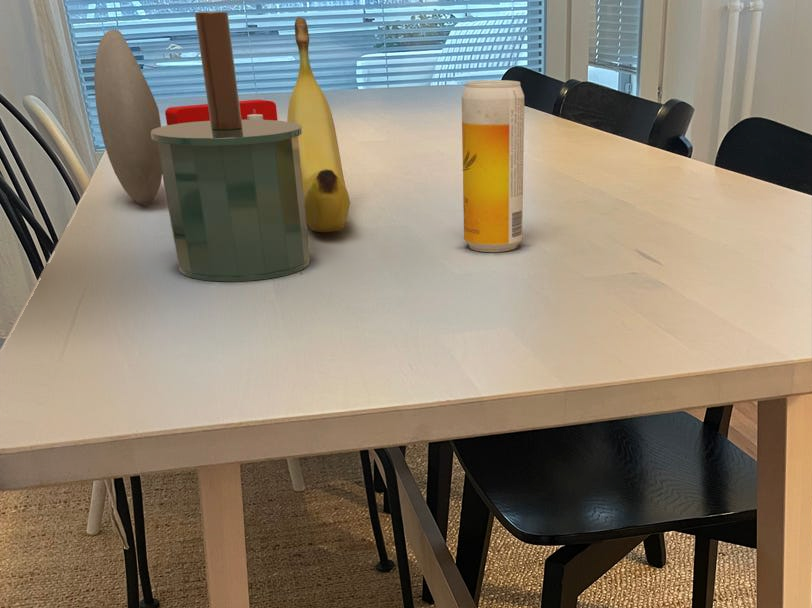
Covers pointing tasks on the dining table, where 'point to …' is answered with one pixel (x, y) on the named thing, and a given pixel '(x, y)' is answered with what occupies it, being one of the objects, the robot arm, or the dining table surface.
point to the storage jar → (236, 209)
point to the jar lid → (222, 97)
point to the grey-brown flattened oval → (127, 118)
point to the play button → (202, 114)
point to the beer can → (493, 164)
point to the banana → (317, 146)
